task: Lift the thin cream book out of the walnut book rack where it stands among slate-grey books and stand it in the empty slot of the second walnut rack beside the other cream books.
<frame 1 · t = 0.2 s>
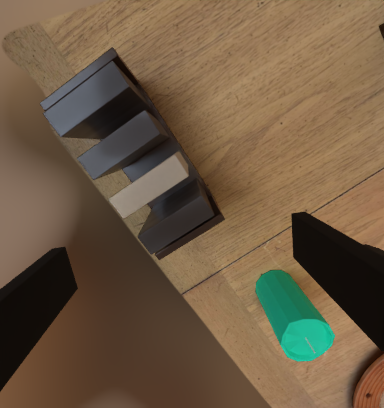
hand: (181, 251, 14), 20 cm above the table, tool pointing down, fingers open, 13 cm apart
grey rack: (153, 158, 32), on the table
cream book: (161, 172, 31), point 1 cm above the table, touching grey rack
candle: (273, 286, 37), on the table
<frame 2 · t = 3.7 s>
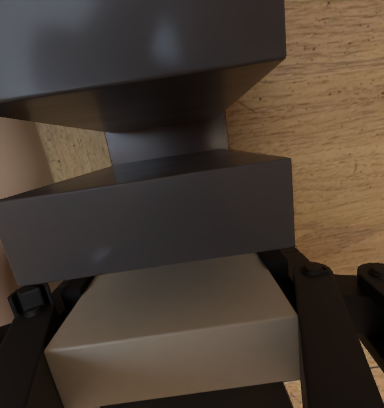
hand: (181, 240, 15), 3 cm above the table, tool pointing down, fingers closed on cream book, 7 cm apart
grey rack: (178, 198, 18), on the table
cream book: (182, 229, 17), point 1 cm above the table, touching grey rack, gripper
when the fingers open (3 cm above the table, at t = 13.2 s): cream book stays where it is, resting on cream rack.
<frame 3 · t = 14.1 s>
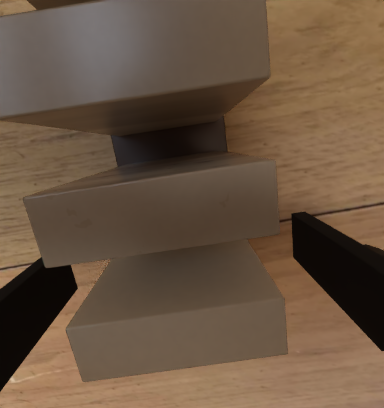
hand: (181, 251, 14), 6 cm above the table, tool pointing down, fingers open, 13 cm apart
cream rack: (171, 150, 18), on the table
cream book: (183, 227, 18), point 1 cm above the table, touching cream rack
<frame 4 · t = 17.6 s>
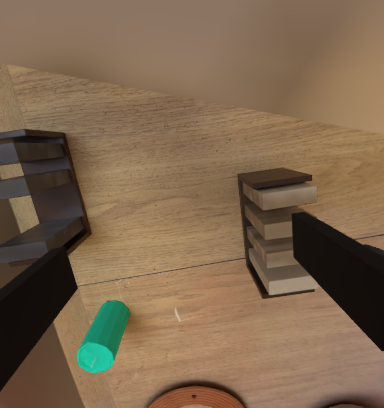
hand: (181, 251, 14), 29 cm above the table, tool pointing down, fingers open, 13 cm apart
grey rack: (56, 189, 41), on the table
cream rack: (263, 219, 44), on the table
cream book: (267, 251, 44), point 1 cm above the table, touching cream rack
candle: (114, 312, 48), on the table
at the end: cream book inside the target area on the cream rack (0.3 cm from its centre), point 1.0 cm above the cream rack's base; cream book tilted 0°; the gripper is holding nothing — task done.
